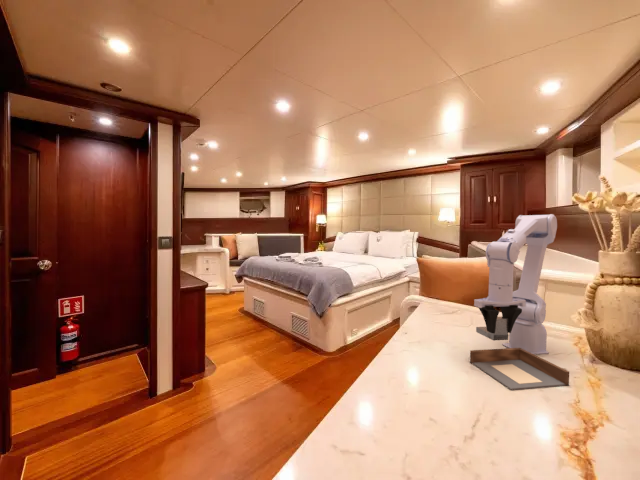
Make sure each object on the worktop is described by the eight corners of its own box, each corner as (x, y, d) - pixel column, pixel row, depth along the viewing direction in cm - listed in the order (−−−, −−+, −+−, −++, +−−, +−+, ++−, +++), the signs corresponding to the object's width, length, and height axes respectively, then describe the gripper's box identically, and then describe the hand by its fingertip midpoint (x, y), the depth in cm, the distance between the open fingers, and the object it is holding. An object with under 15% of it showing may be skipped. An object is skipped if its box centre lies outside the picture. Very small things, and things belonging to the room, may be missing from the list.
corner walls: (519, 358, 81) (519, 347, 81) (568, 385, 67) (569, 371, 67) (470, 362, 79) (470, 350, 79) (510, 390, 65) (511, 376, 65)
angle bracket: (508, 339, 78) (508, 318, 78) (493, 340, 77) (494, 319, 77) (489, 331, 85) (489, 311, 85) (476, 331, 84) (476, 312, 84)
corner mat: (519, 358, 81) (519, 357, 81) (568, 385, 67) (568, 383, 67) (470, 362, 79) (470, 360, 79) (510, 390, 65) (510, 388, 65)
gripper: (511, 281, 83) (510, 326, 83) (467, 281, 81) (466, 327, 81) (533, 286, 76) (531, 334, 76) (485, 286, 74) (483, 336, 74)
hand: (498, 331), depth 78 cm, fingers closed on angle bracket, 4 cm apart
